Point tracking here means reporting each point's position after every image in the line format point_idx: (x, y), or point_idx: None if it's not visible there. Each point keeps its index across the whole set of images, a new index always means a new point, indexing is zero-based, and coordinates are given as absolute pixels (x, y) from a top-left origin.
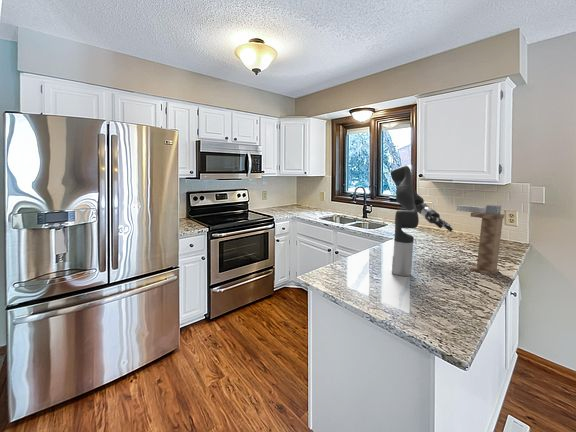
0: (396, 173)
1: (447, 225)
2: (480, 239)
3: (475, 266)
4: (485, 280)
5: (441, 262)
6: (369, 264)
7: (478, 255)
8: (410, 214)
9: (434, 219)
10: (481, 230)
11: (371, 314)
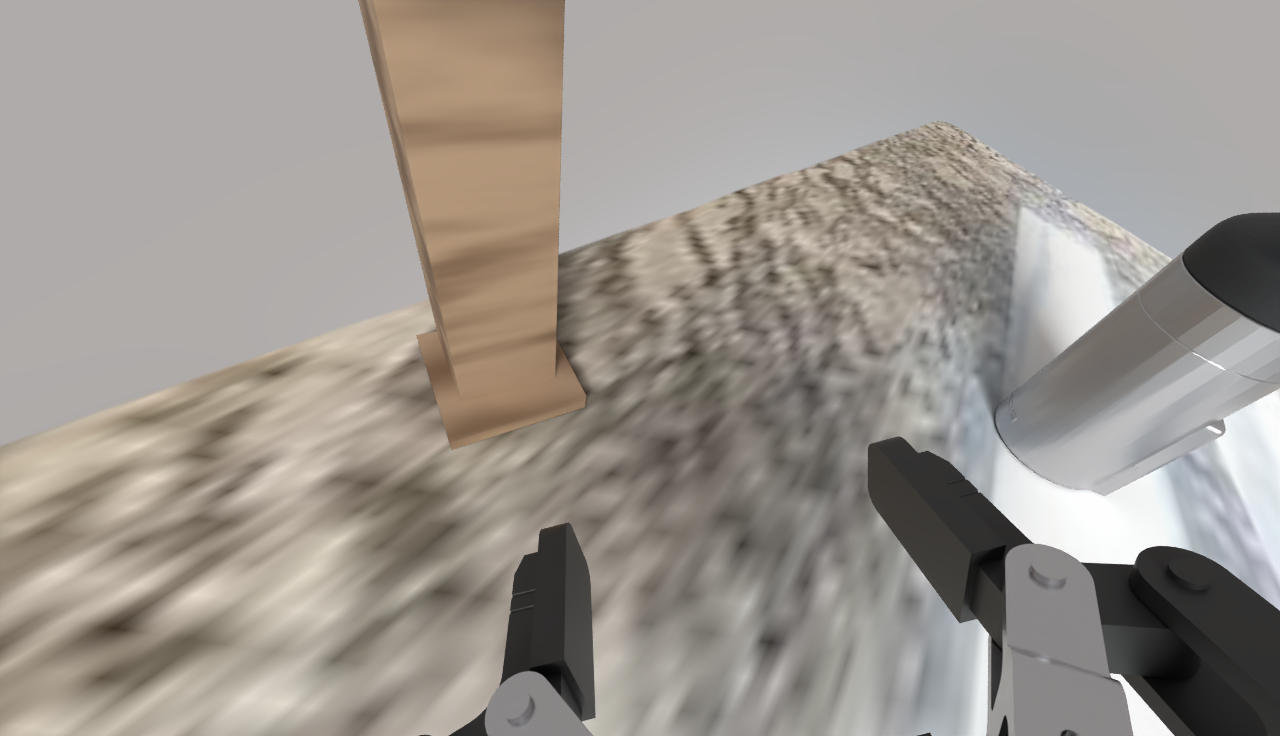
0: None
1: (560, 704)
2: (556, 184)
3: (532, 400)
4: (636, 287)
5: (671, 623)
6: None
7: (555, 307)
8: None
9: (1202, 566)
10: (558, 86)
11: (1111, 221)
